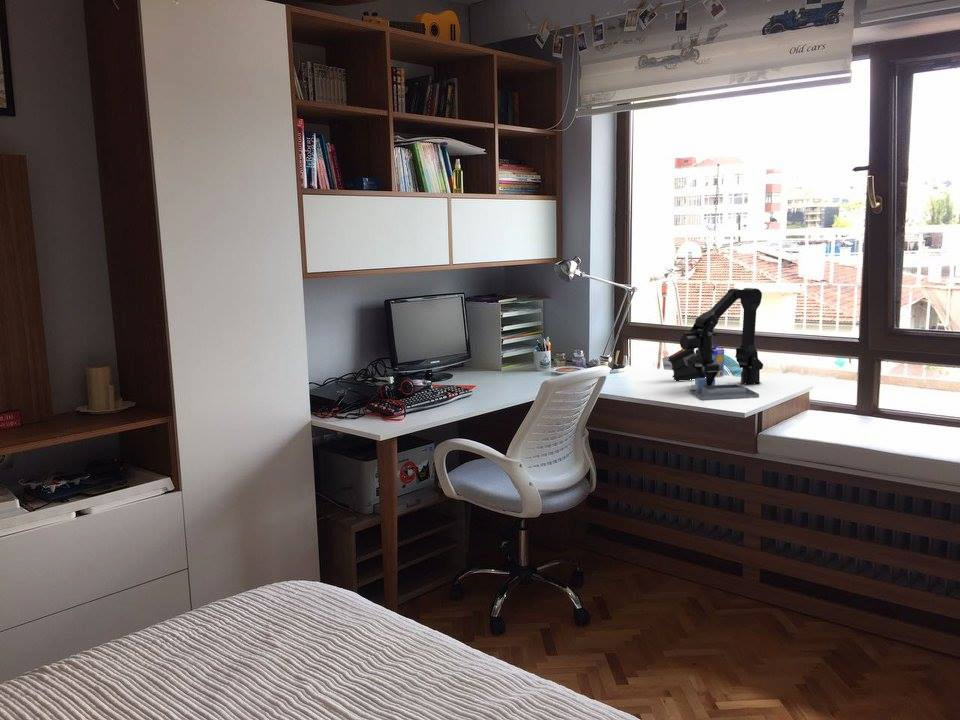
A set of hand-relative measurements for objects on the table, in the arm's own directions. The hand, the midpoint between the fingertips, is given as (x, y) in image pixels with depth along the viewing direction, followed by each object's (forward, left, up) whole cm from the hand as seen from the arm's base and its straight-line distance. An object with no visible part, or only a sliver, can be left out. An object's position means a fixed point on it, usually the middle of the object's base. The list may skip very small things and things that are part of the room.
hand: (705, 385), depth 330 cm
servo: (0, 0, -2) cm, 2 cm away
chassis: (-4, +12, -2) cm, 13 cm away
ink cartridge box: (-12, -28, -2) cm, 31 cm away
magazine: (+2, -22, -2) cm, 22 cm away
